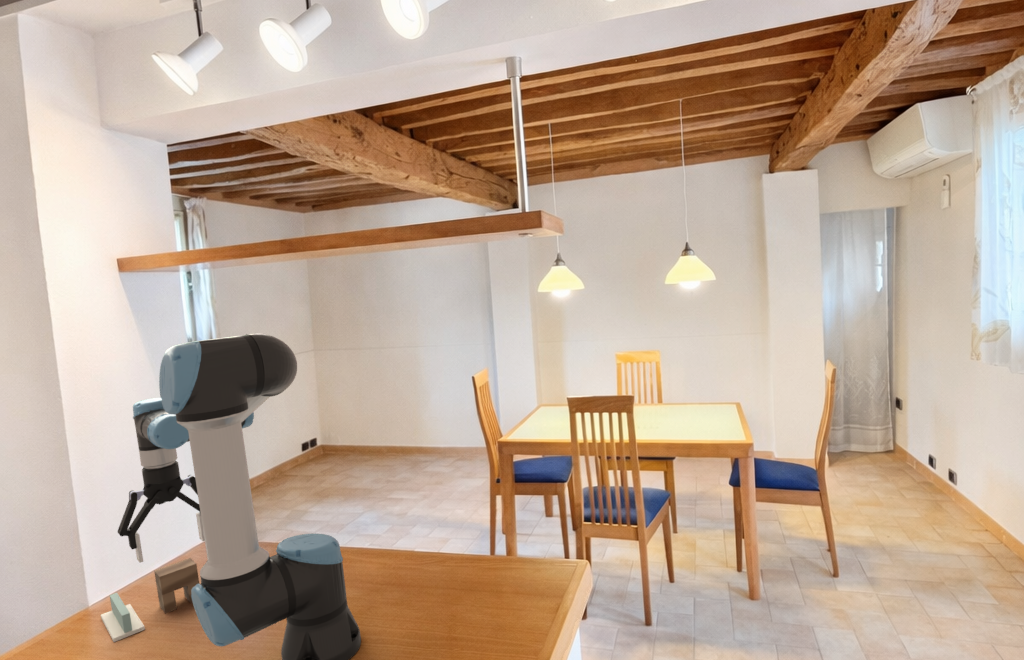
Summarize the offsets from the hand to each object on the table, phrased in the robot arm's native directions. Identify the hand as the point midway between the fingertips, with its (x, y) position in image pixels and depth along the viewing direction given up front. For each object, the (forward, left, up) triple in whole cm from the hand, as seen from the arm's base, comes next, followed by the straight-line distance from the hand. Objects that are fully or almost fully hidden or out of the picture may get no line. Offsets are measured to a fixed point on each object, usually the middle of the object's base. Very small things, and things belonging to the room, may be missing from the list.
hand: (172, 549), depth 147 cm
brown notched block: (0, 0, -13) cm, 13 cm away
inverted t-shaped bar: (+1, +12, -13) cm, 18 cm away
